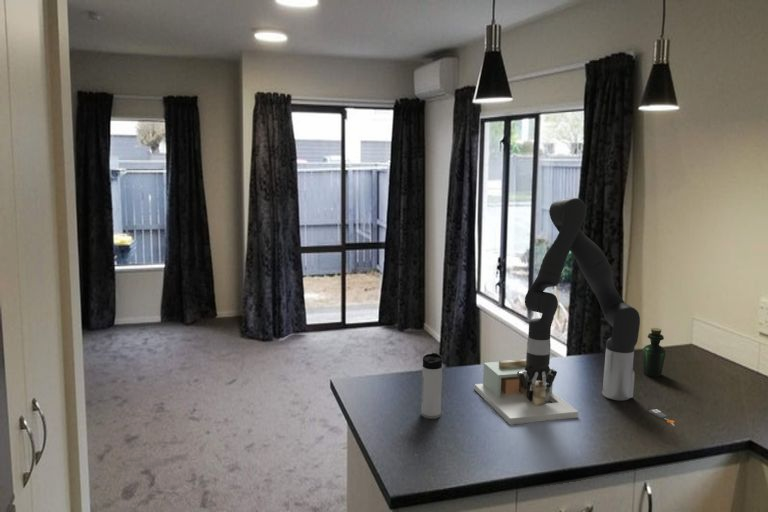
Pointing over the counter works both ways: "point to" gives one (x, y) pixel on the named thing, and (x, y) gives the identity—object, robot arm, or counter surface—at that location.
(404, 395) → the counter surface
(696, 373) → the counter surface
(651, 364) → the potion bottle
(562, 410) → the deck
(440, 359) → the travel mug
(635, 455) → the counter surface
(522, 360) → the stick
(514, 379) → the cube
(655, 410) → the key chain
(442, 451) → the counter surface
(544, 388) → the crook
